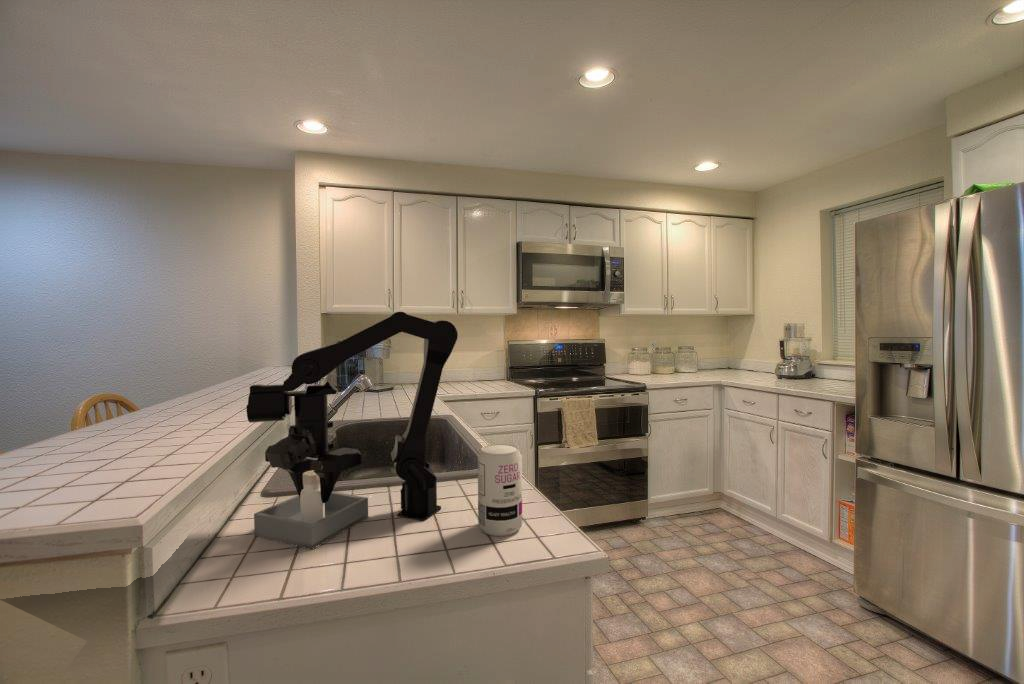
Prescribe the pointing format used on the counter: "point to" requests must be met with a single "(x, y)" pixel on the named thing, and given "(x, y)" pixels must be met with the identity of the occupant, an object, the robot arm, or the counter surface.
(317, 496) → the salt shaker
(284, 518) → the bin
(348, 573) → the counter surface
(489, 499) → the supplement can
